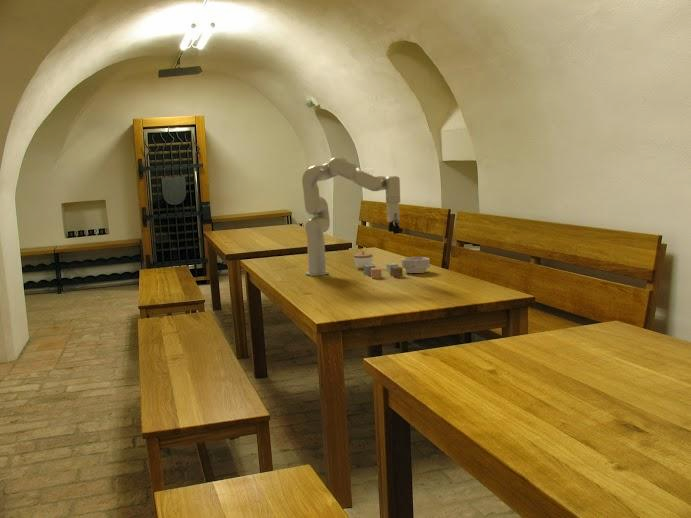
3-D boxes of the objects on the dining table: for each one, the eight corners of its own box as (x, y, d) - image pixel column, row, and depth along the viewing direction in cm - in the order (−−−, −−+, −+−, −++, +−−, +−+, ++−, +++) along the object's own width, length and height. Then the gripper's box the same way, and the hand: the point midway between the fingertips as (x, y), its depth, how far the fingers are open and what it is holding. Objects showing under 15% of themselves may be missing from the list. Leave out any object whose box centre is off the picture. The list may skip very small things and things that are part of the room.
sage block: (386, 272, 392) (386, 263, 391) (395, 271, 393) (394, 262, 393) (389, 274, 387) (389, 264, 386) (398, 273, 389) (398, 264, 388)
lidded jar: (376, 267, 411) (375, 251, 410) (366, 269, 402) (366, 253, 401) (360, 265, 417) (360, 250, 415) (350, 268, 408) (350, 252, 406)
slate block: (363, 274, 389) (363, 265, 388) (371, 273, 391) (371, 264, 390) (367, 275, 384) (366, 266, 384) (375, 274, 386) (375, 265, 386)
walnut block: (391, 276, 380) (390, 267, 380) (400, 275, 381) (399, 266, 381) (393, 277, 376) (393, 268, 375) (402, 277, 377) (402, 267, 376)
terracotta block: (371, 277, 380) (370, 267, 379) (380, 276, 380) (380, 267, 379) (372, 278, 375) (371, 269, 374) (381, 278, 375) (381, 269, 374)
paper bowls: (422, 269, 398) (422, 255, 397) (434, 273, 384) (434, 259, 382) (397, 271, 393) (397, 257, 392) (408, 275, 379) (408, 261, 378)
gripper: (382, 199, 379) (383, 231, 382) (390, 201, 362) (391, 234, 365) (395, 198, 380) (396, 230, 383) (404, 200, 364) (405, 233, 366)
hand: (394, 232), depth 374 cm, fingers open, 9 cm apart
